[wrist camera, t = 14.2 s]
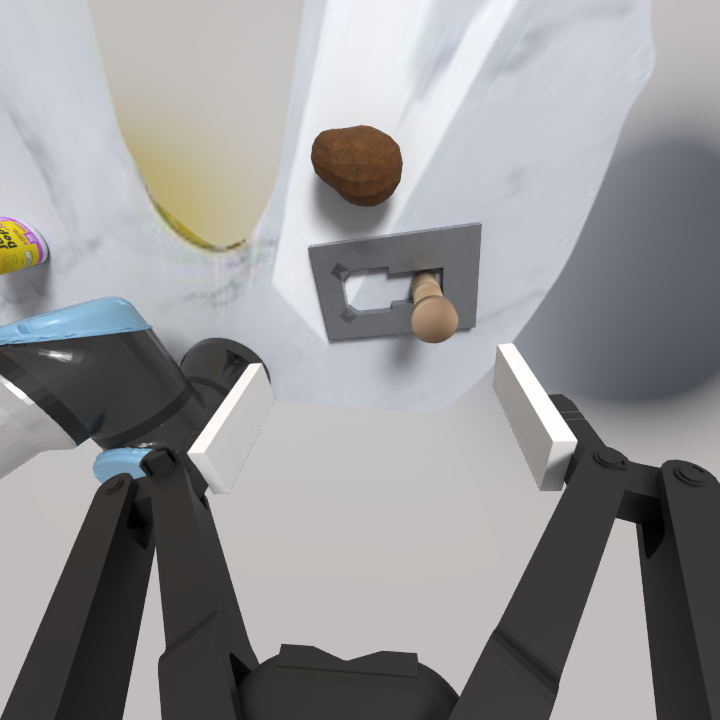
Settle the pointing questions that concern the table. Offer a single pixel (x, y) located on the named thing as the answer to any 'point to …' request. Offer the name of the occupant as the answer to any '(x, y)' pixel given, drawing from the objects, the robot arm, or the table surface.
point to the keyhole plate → (401, 254)
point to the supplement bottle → (19, 245)
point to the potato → (358, 163)
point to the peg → (431, 310)
